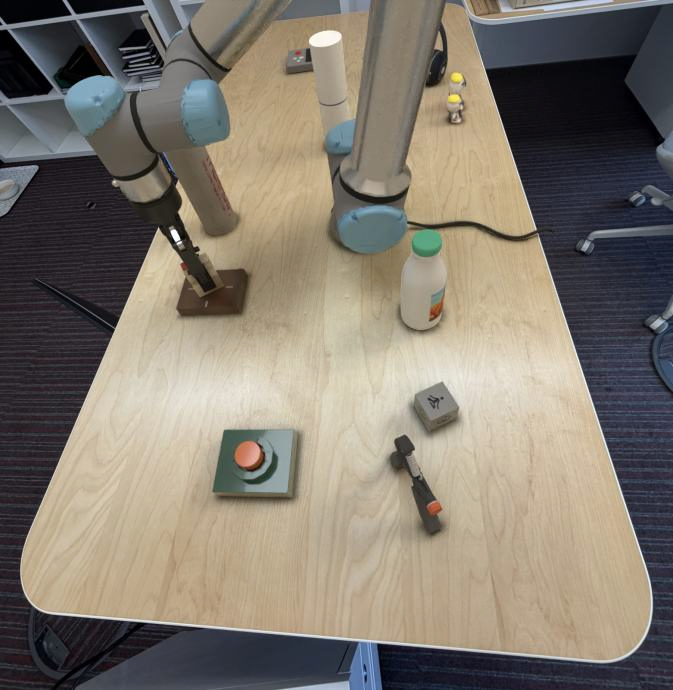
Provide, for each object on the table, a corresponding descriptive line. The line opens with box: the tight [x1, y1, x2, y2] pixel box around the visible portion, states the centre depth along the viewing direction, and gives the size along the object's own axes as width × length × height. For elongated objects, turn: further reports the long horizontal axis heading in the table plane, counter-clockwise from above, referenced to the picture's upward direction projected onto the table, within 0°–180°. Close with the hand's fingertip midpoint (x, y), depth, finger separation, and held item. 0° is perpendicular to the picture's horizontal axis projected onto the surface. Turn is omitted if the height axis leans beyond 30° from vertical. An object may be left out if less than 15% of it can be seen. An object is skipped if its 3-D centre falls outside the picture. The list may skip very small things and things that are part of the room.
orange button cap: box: [235, 441, 264, 470], centre depth 63 cm, size 4×4×2 cm
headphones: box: [426, 21, 449, 85], centre depth 115 cm, size 20×7×18 cm, turn 54°
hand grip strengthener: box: [389, 434, 443, 536], centre depth 56 cm, size 2×13×15 cm, turn 24°
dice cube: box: [413, 381, 460, 432], centre depth 67 cm, size 5×5×5 cm
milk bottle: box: [400, 228, 448, 331], centre depth 71 cm, size 8×8×20 cm
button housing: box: [211, 429, 299, 498], centre depth 66 cm, size 12×10×5 cm
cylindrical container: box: [308, 30, 351, 145], centre depth 99 cm, size 7×7×25 cm
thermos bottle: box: [163, 146, 237, 237], centre depth 88 cm, size 8×8×28 cm
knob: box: [179, 252, 224, 297], centre depth 83 cm, size 6×2×8 cm, turn 118°
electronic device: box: [286, 47, 314, 75], centre depth 134 cm, size 10×2×15 cm
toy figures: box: [446, 72, 467, 124], centre depth 108 cm, size 12×4×8 cm, turn 169°
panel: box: [175, 268, 248, 317], centre depth 87 cm, size 13×10×3 cm
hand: (207, 283), depth 85 cm, fingers closed on knob, 2 cm apart
